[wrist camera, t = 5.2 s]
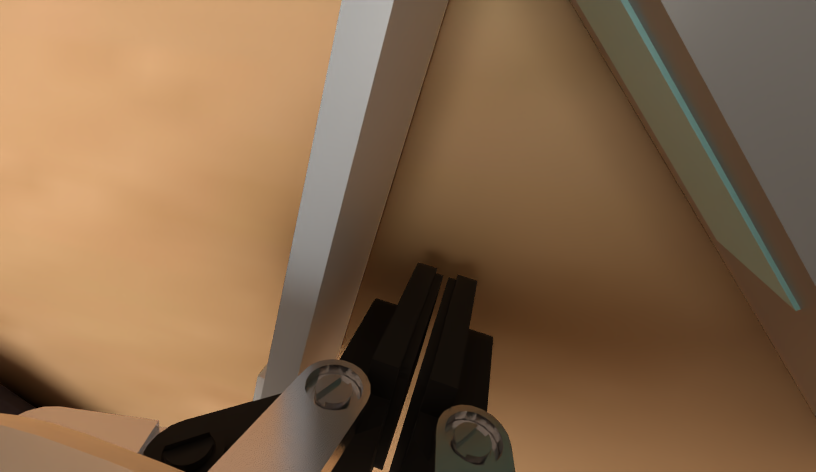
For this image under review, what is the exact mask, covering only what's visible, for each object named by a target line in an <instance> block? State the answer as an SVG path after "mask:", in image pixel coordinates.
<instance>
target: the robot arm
mask: <svg viewBox="0 0 816 472" xmlns="http://www.w3.org/2000/svg"><path fill="white" fill-rule="evenodd" d="M436 272H437V268H435V267H432V266H428V265H425V264H422V263H419V262H418V264H417V266H416V268H415V270H414V272H413V274H412V276H411V278H410V280H409V282H408V284H407V287H406V289H405V291H404V293H403V295H402V297H401V299H400V301H399V303H398V305H395V304H392V303H389V302H386V301H383V300H380V299H375V300H374V302H373V303H372V305H371V307H370V309H369V310H368V312H367V314H366V315H365V317H364V319H363V321H362V322H361V324H360V326H359V327H358V329H357V331H356V333H355V334H354V336H353V338H352V339H351V341H350V343H349V345H348V346H347V348H346V350H345V351H344V353H343V355H342V356H341V358H340V360H337V359H328V360H321V361H319V362H316V363H314V364H311V365H310V366H309V367H307V368H306V369H305V370H304V371H303V372H302V373H301V374H300V375H299V376H298V377H297V378H296V379H295V380H294V381H293V382H292V383H291V384H290V385H289V386H288V387H287V388H286V390H285V391H284V392H283V393H281V394H277V395H273V396H270V397H266V398H263V399H259V400H255V401H252V402H248V403H245V404H241V405H237V406H234V407H230V408H227V409H223V410H219V411H216V412H212V413H209V414H205V415H201V416H198V417H194V418H191V419H187V420H184V421H181V422H179V423H176V424H174V425H171V426H169V427H168V428H167V427H159V420H152V419H145V418H138V417H131V416H124V415H117V414H110V413H102V412H95V411H88V410H81V409H74V408H67V407H60V406H53V407H41V408H37V409H33V410H29V411H26V412H24V413H21V414H19V415H11V414H3V413H0V472H372V470H373V467H376V468H378V469H381V470H382V469H383V466H384V463H385V460H386V457H387V454H388V451H389V448H390V445H391V442H392V439H393V436H394V433H395V430H396V427H397V423H398V420H399V417H400V414H401V411H402V408H403V405H404V402H405V399H406V396H407V393H408V390H409V387H410V384H411V380H412V377H413V374H414V371H415V368H416V365H417V362H418V359H419V356H420V352H421V349H422V346H423V342H424V339H425V336H426V332H427V329H428V326H429V322H430V319H431V315H432V312H433V309H434V305H435V302H436V299H437V295H438V292H439V289H440V285H441V282H442V278H443V275H440V274H436ZM476 286H477V281H476V280H473V279H470V278H467V277H464V276H460V275H458V276H457V279H452V278H448V281H447V284H446V288H445V291H444V294H443V297H442V301H441V304H440V307H439V310H438V314H437V317H436V320H435V323H434V327H433V330H432V333H431V336H430V340H429V343H428V346H427V349H426V353H425V356H424V359H423V362H422V366H421V369H420V372H419V375H418V379H417V382H416V385H415V388H414V392H413V395H412V398H411V402H410V405H409V408H408V411H407V415H406V418H405V421H404V425H403V428H402V431H401V434H400V438H399V441H398V444H397V448H396V451H395V454H394V457H393V461H392V464H391V467H390V471H389V472H515V467H514V461H513V454H512V447H511V443H510V440H509V437H508V434H507V432H506V431H505V429H504V428H503V426H502V424H501V423H500V422H498V421H497V420H496V419H495V418H494V417H493V416H492V415H491V414H489V413H487V405H488V393H489V381H490V369H491V358H492V346H493V337H492V336H489V335H486V334H483V333H480V332H477V331H474V330H471V329H469V325H470V320H471V314H472V308H473V303H474V297H475V291H476Z"/></svg>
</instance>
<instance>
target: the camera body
mask: <svg viewBox="0 0 816 472" xmlns="http://www.w3.org/2000/svg"><path fill="white" fill-rule="evenodd" d="M570 2H571V4H572V6H573V7H574V9H575V11H576V12H577V14H578V16H579V17H580V19H581V21H582V22H583V24H584V26H585V28H586V29H587V31H588V33H589V34H590V36H591V38H592V39H593V41H594V43H595V45H596V46H597V48H598V50H599V51H600V53H601V55H602V56H603V58H604V60H605V61H606V63H607V65H608V67H609V68H610V70H611V72H612V73H613V75H614V77H615V78H616V80H617V82H618V83H619V85H620V87H621V89H622V90H623V92H624V94H625V95H626V97H627V99H628V100H629V102H630V104H631V105H632V107H633V109H634V111H635V112H636V114H637V116H638V117H639V119H640V121H641V122H642V124H643V126H644V128H645V129H646V131H647V133H648V134H649V136H650V138H651V139H652V141H653V143H654V144H655V146H656V148H657V150H658V151H659V153H660V155H661V156H662V158H663V160H664V161H665V163H666V165H667V166H668V168H669V170H670V172H671V173H672V175H673V177H674V178H675V180H676V182H677V183H678V185H679V187H680V188H681V190H682V192H683V194H684V195H685V197H686V199H687V200H688V202H689V204H690V205H691V207H692V209H693V211H694V212H695V214H696V216H697V217H698V219H699V221H700V222H701V224H702V226H703V227H704V229H705V231H706V233H707V234H708V236H709V238H710V239H711V241H712V243H713V244H714V246H715V248H716V249H717V251H718V253H719V255H720V256H721V258H722V260H723V261H724V263H725V265H726V266H727V268H728V270H729V271H730V273H731V275H732V277H733V278H734V280H735V282H736V283H737V285H738V287H739V288H740V290H741V292H742V294H743V295H744V297H745V299H746V300H747V302H748V304H749V305H750V307H751V309H752V310H753V312H754V314H755V316H756V317H757V319H758V321H759V322H760V324H761V326H762V327H763V329H764V331H765V332H766V334H767V336H768V338H769V339H770V341H771V343H772V344H773V346H774V348H775V349H776V351H777V353H778V354H779V356H780V358H781V360H782V361H783V363H784V365H785V366H786V368H787V370H788V371H789V373H790V375H791V376H792V378H793V380H794V382H795V383H796V385H797V387H798V388H799V390H800V392H801V393H802V395H803V397H804V399H805V400H806V402H807V404H808V405H809V407H810V409H811V410H812V412H813V414H814V415H815V417H816V0H570Z"/></svg>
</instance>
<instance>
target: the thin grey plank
mask: <svg viewBox="0 0 816 472" xmlns="http://www.w3.org/2000/svg"><path fill="white" fill-rule="evenodd" d="M448 1H449V0H342V2H341V7H340V12H339V17H338V22H337V27H336V31H335V36H334V41H333V46H332V51H331V56H330V61H329V66H328V71H327V76H326V80H325V85H324V90H323V95H322V100H321V105H320V110H319V115H318V120H317V125H316V129H315V134H314V139H313V144H312V149H311V154H310V159H309V164H308V169H307V174H306V178H305V183H304V188H303V193H302V198H301V203H300V208H299V213H298V218H297V223H296V227H295V232H294V237H293V242H292V247H291V252H290V257H289V262H288V267H287V272H286V276H285V281H284V286H283V291H282V296H281V301H280V306H279V311H278V316H277V321H276V325H275V330H274V335H273V340H272V345H271V350H270V355H269V360H268V364H267V365H266V366H265V367H264V369H263V370H262V371H261V372H260V374H259V375H258V377H257V382H256V388H255V393H254V398H253V401H255V400H259V399H263V398H266V397H270V396H273V395H277V394H281V393H283V392H284V391H285V390H286V388H287V387H288V386H289V385H290V384H291V383H292V382H293V381H294V380H295V379H296V378H297V377H298V376H299V375H300V374H301V373H302V372H303V371H304V370H305V369H306V368H307V367H309V366H310V365H311V364H314V363H316V362H319V361H321V360H328V359H337V358H338V355H339V352H340V349H341V346H342V342H343V339H344V336H345V333H346V330H347V326H348V323H349V320H350V317H351V313H352V310H353V307H354V304H355V301H356V297H357V294H358V291H359V288H360V284H361V281H362V278H363V275H364V272H365V268H366V265H367V262H368V259H369V255H370V252H371V249H372V246H373V243H374V239H375V236H376V233H377V230H378V226H379V223H380V220H381V217H382V214H383V210H384V207H385V204H386V201H387V197H388V194H389V191H390V188H391V185H392V181H393V178H394V175H395V172H396V168H397V165H398V162H399V159H400V156H401V152H402V149H403V146H404V143H405V139H406V136H407V133H408V130H409V127H410V123H411V120H412V117H413V114H414V110H415V107H416V104H417V101H418V98H419V94H420V91H421V88H422V85H423V81H424V78H425V75H426V72H427V69H428V65H429V62H430V59H431V56H432V52H433V49H434V46H435V43H436V39H437V36H438V33H439V30H440V27H441V23H442V20H443V17H444V14H445V10H446V7H447V4H448Z"/></svg>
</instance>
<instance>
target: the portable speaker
mask: <svg viewBox="0 0 816 472" xmlns="http://www.w3.org/2000/svg"><path fill="white" fill-rule="evenodd" d="M33 409H36V408H35V407H33V406H32V405H30V404H29V403H27V402H26V401H25V400H23V399H22V398H20V397H19V396H17V395H16V394H14V393H13V392H12V391H10V390H9V389H7V388H6V387H4V386H2V385H0V413H3V414H11V415H19V414H21V413H24V412H26V411H29V410H33Z"/></svg>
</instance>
